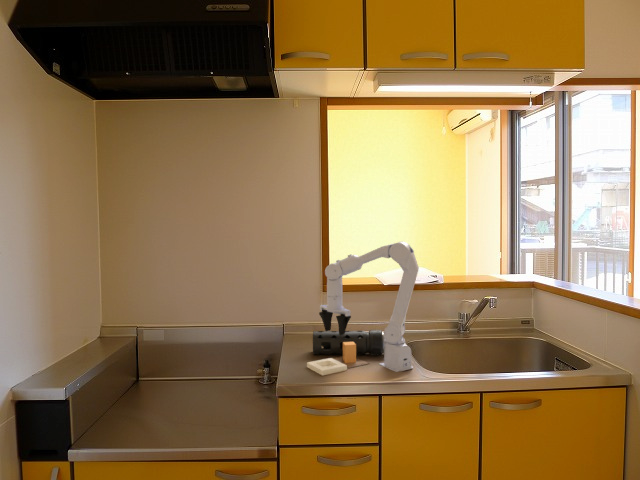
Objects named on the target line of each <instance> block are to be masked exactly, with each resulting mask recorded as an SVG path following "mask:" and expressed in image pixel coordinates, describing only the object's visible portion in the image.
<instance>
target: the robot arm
mask: <svg viewBox="0 0 640 480" xmlns="http://www.w3.org/2000/svg"><path fill="white" fill-rule="evenodd" d="M380 258H384V259H390V258H391V259H392V260H393V261H394V262H396V263H397V264H398V265H399V267H400V269H402V271H403V272H402V273H403V274H402V277H401V280H400V284H399V288H398V292H397V294H396V295H397V296H396V299H395V303H394V307H393V310H392V314H391V316H390V319H389V320H388V321H389V322H388V325H387V326H386V327H385V328H384V330H383V332H384V333H383V334H384V338H385V339H384V353H383V355H384V357H383V362H380V363H379V364H378V365H379V366H381V367H384V368H386V369H388V370H390V371H393V372H396V373H398V372H403V371H407V370H412V369H414V366H413V365H412V348H411V347H410V346H409V345H407V343H406V339H405V337H404V334H405V332H406V325H405V323H406V319H407V317H406V315H407V313H408V309H409V305H410V302H411V298H412V294H413V292H414V287H415V284H416V281H417V277H418V273H419V264H418V261H417V259H416V255H415V250H414V249H413V247H411V244H409V243H408V242H406V241H404V240H402V241H397V242H394V243H390V244H386V245H382V246H380V247H377V248H376V249H373V250H371V251H368V252H366V253H364V254H362V255H360V256H359V255H357V254H349V255H347V257H345V258H343V259H337V260H336V261H335V262H334V263H330V264H328V265H327V266H326V267H325V270H324V275H325V277H326V304H320V305H319V311H320V312H318V315H319V316H320V318H321V320H322V323H323V327H324V331H332V330H331V329H332V319H333V314H338V315H336V318H335V319H336V320H337V324H338V325H337V326H338V331H339V335H344V334H345V331H347V326H348V323H349V322H350V321H351V320H350V319H351V318H352V315H351V313H352V311H351V310H350V309H348V308H345V306H344V305H343V276H348V275H350V274H352V273H355V272H357V271H360V270H361V269H362V267H363V265H365V264H367V263H370V262H373V261H375V260H377V259H380Z"/></svg>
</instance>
